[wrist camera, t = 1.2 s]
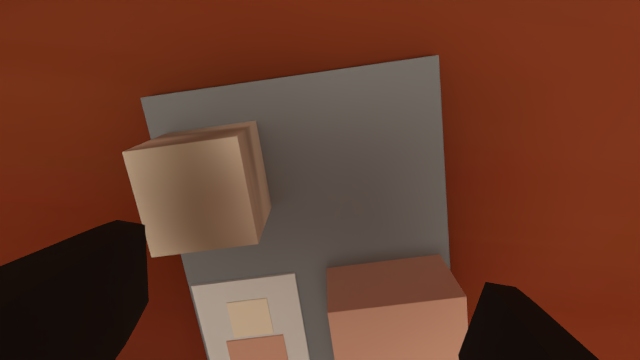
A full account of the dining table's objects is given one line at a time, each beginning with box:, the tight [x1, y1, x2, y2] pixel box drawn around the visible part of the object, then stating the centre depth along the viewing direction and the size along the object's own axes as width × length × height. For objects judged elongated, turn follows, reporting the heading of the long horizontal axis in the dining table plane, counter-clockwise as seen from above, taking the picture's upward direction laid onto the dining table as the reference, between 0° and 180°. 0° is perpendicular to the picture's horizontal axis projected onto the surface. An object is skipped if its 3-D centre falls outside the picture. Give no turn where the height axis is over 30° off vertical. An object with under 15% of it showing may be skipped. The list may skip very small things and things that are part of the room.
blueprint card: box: [191, 272, 310, 360], centre depth 22 cm, size 6×7×1 cm
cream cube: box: [122, 121, 272, 257], centre depth 18 cm, size 4×4×4 cm
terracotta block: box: [326, 254, 468, 360], centre depth 20 cm, size 6×6×4 cm
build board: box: [141, 55, 450, 360], centre depth 21 cm, size 14×18×1 cm
